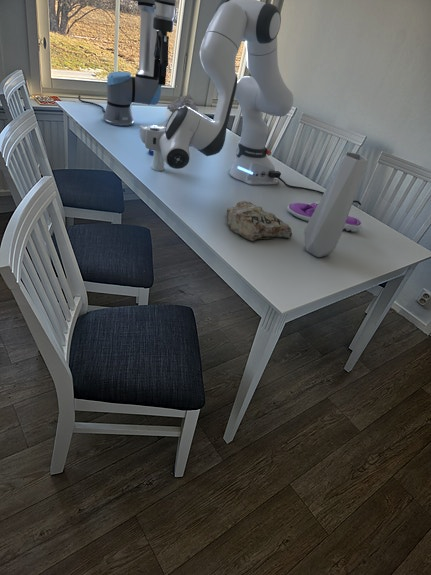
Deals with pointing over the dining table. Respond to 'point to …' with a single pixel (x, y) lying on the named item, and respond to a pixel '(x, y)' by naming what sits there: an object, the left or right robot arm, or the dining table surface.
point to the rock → (183, 103)
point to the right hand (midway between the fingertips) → (166, 128)
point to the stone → (256, 222)
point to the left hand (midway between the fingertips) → (159, 80)
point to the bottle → (158, 159)
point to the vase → (334, 206)
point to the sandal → (307, 211)
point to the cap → (151, 152)
